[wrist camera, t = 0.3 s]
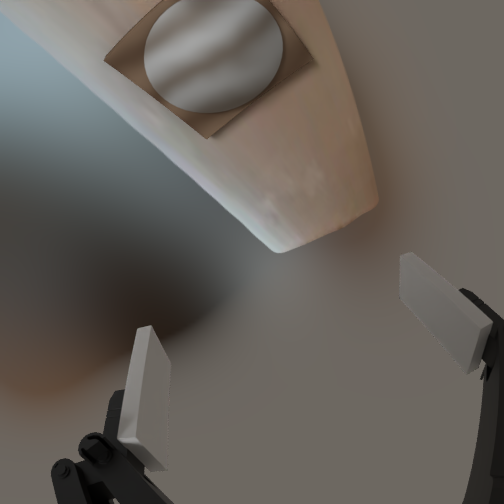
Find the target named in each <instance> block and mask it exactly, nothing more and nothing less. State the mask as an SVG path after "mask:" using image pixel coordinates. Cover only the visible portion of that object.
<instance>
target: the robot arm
mask: <svg viewBox="0 0 504 504" xmlns="http://www.w3.org/2000/svg"><path fill="white" fill-rule="evenodd" d="M399 298H400V299H401V300H402V301H403V303H404V304H405V305H406V306H407V307H408V308H409V309H410V310H411V311H412V313H413V314H414V315H415V316H416V317H417V318H418V319H419V320H420V321H421V323H422V324H423V325H424V326H425V327H426V328H427V329H428V330H429V331H430V333H431V334H432V335H433V336H434V337H435V338H436V340H437V341H438V342H439V343H440V344H441V345H442V347H443V348H444V349H445V350H446V351H447V352H448V354H449V355H450V356H451V357H452V358H453V359H454V361H455V362H456V363H457V364H458V366H459V367H460V368H461V369H462V371H463V372H464V373H465V374H466V375H467V374H469V373H470V372H472V371H474V370H476V369H477V368H479V365H480V362H481V359H483V361H484V362H485V363H486V365H485V367H484V370H483V372H482V375H481V378H480V379H481V380H482V379H483V376H484V383H483V396H482V407H481V416H480V423H479V430H478V437H477V443H476V449H475V454H474V459H473V464H472V469H471V474H470V478H469V482H468V486H467V490H466V494H465V498H464V501H463V503H462V504H504V320H503V319H502V318H501V317H500V316H499V315H498V314H497V313H495V312H494V311H493V310H492V309H491V308H490V307H489V306H488V305H486V304H484V302H483V301H482V300H481V299H479V298H478V297H477V296H476V295H475V294H474V293H473V292H471V291H469V290H466V289H464V288H462V289H460V290H457V289H456V288H455V287H454V286H453V285H451V284H450V283H449V282H448V281H447V280H446V279H444V278H443V277H442V276H441V275H439V274H438V273H437V272H436V271H435V270H434V269H432V268H431V267H430V266H429V265H427V264H426V263H425V262H424V261H422V260H421V259H420V258H419V257H418V256H416V255H415V254H414V253H413V252H409V253H406V254H403V255H400V287H399ZM170 373H171V362H170V361H169V359H168V357H167V355H166V353H165V351H164V349H163V347H162V346H161V344H160V342H159V340H158V338H157V336H156V334H155V332H154V330H153V328H152V326H146V327H142V328H138V329H137V333H136V338H135V342H134V347H133V352H132V357H131V361H130V367H129V371H128V377H127V382H126V388H125V389H124V390H118V391H115V392H114V394H113V396H112V397H111V399H110V401H109V406H108V411H107V416H106V417H107V418H106V421H105V426H104V431H103V434H101V433H97V432H94V433H90V434H88V435H86V436H85V437H84V438H83V439H82V440H81V442H80V444H79V448H78V451H79V454H80V456H81V457H82V458H84V459H85V460H84V461H81V462H78V463H74V462H73V461H71V460H70V459H66V458H65V459H60V460H59V461H57V462H56V463H55V464H54V466H53V467H52V470H51V477H52V482H53V486H54V490H55V494H56V498H57V502H58V504H114V502H113V499H114V498H116V499H117V501H118V502H119V503H120V504H174V503H173V502H172V501H171V500H170V499H169V498H168V497H167V496H166V495H164V493H163V492H162V491H161V490H160V489H159V488H158V487H157V486H155V484H154V483H153V482H152V481H151V480H150V479H149V478H148V477H147V476H146V475H145V474H144V467H146V468H147V469H148V470H149V471H151V472H154V471H165V470H167V467H168V418H169V394H170V393H169V392H170V375H171V374H170Z"/></svg>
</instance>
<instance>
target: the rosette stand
mask: <svg viewBox="0 0 504 504" xmlns="http://www.w3.org/2000/svg"><path fill="white" fill-rule="evenodd" d="M311 60H313V57H312V56H311V54H310V53H309V52H308V50H307V49H306V47H305V46H304V45H303V43H302V42H301V41H300V39H299V38H298V37H297V35H296V34H295V33H294V31H293V30H292V29H291V27H290V26H289V25H288V23H287V22H286V21H285V20H284V18H283V17H282V16H281V14H280V13H279V12H278V11H277V10H276V8H275V7H274V6H273V5H272V3H271V2H270V1H269V0H162V1H161V2H160V3H158V4H157V5H156V6H155V7H154V8H153V9H152V10H151V11H150V12H148V13H147V14H146V15H145V16H144V17H143V18H142V19H141V20H140V21H139V22H138V23H137V24H136V25H135V26H134V27H133V28H132V29H131V30H130V31H129V32H128V33H127V34H126V35H125V36H124V37H123V38H122V39H121V40H120V41H119V42H118V43H117V44H116V45H115V46H114V47H113V49H112V50H111V51H110V52H109V53H108V54H107V55H106V57H105V59H104V61H105V62H106V63H108V64H109V65H110V66H112V67H113V68H115V69H116V70H117V71H119V72H120V73H121V74H123V75H124V76H125V77H127V78H128V79H130V80H131V81H132V82H134V83H135V84H136V85H138V86H139V87H140V88H142V89H143V90H144V91H146V92H147V93H148V94H149V95H151V96H152V97H153V98H155V99H156V100H157V101H159V102H160V103H161V104H163V105H164V106H165V107H166V108H168V109H169V110H170V111H172V112H173V113H174V114H175V115H177V116H178V117H179V118H180V119H182V120H183V121H184V122H185V123H187V124H188V125H189V126H190V127H192V128H193V129H194V130H195V131H197V132H198V133H199V134H200V135H202V136H203V137H204V138H205V139H208V138H209V137H210V136H212V135H213V134H214V133H215V132H216V131H218V130H219V129H220V128H221V127H222V126H224V125H225V124H226V123H227V122H229V121H230V120H231V119H232V118H234V117H235V116H236V115H237V114H239V113H240V112H241V111H242V110H244V109H245V108H246V107H248V106H249V105H250V104H252V103H253V102H254V101H255V100H257V99H258V98H259V97H261V96H262V95H263V94H265V93H266V92H267V91H269V90H270V89H272V88H273V87H274V86H276V85H277V84H278V83H280V82H281V81H283V80H284V79H285V78H287V77H288V76H290V75H291V74H292V73H294V72H295V71H297V70H298V69H300V68H301V67H303V66H304V65H305V64H307V63H308V62H310V61H311Z"/></svg>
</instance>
